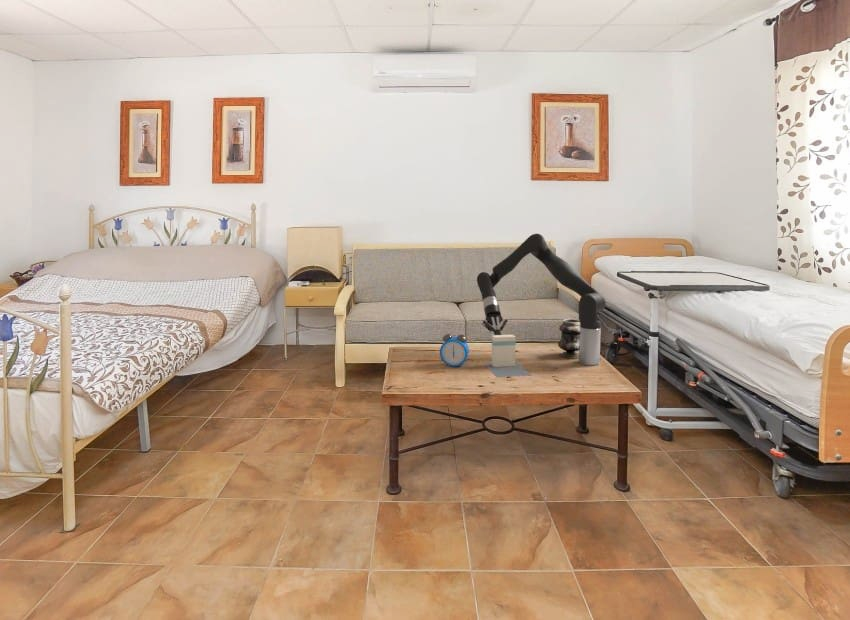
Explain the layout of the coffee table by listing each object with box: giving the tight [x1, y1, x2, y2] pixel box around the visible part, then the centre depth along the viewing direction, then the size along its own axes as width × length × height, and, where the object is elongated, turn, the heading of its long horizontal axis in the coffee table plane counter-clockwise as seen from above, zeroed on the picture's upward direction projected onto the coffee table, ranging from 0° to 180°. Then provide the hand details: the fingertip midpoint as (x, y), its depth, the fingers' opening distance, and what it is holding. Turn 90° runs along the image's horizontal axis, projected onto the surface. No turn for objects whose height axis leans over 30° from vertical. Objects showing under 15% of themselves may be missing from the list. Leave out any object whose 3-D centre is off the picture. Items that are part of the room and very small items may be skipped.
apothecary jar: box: [557, 318, 580, 359], centre depth 261 cm, size 12×12×18 cm
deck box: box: [491, 334, 517, 367], centre depth 244 cm, size 4×10×14 cm, turn 98°
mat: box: [483, 361, 532, 378], centre depth 240 cm, size 22×16×1 cm
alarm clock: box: [439, 333, 470, 368], centre depth 246 cm, size 13×6×15 cm, turn 77°
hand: (498, 337), depth 252 cm, fingers closed
